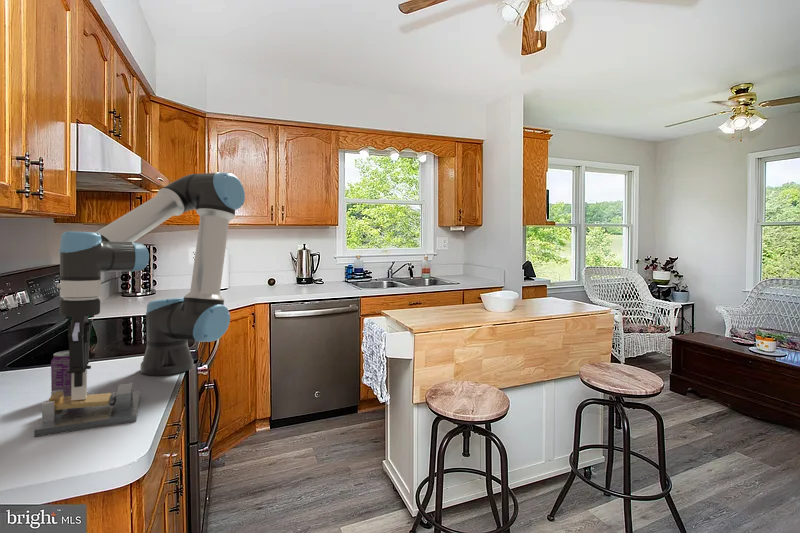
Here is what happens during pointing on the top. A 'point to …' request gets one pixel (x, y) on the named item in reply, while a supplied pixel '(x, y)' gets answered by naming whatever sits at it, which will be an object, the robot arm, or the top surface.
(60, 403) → the tan flat panel
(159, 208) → the robot arm
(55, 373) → the beverage can
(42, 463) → the top surface
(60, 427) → the clamp base
